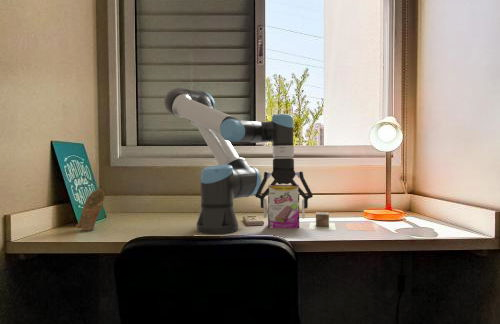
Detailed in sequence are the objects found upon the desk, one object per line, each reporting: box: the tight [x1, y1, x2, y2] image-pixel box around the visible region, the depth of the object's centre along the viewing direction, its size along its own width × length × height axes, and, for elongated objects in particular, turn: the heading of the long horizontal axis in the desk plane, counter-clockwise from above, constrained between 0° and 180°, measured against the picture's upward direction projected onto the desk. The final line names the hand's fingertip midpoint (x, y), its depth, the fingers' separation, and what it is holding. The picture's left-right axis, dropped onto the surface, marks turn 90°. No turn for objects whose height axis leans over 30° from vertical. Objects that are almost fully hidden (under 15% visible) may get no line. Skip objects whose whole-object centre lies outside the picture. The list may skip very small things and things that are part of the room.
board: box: [308, 222, 377, 232], centre depth 130 cm, size 24×14×2 cm, turn 79°
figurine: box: [75, 188, 105, 231], centre depth 135 cm, size 8×8×15 cm
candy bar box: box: [267, 184, 300, 229], centre depth 131 cm, size 11×5×16 cm, turn 84°
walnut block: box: [315, 211, 330, 227], centre depth 131 cm, size 4×4×4 cm
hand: (284, 217), depth 131 cm, fingers open, 13 cm apart
